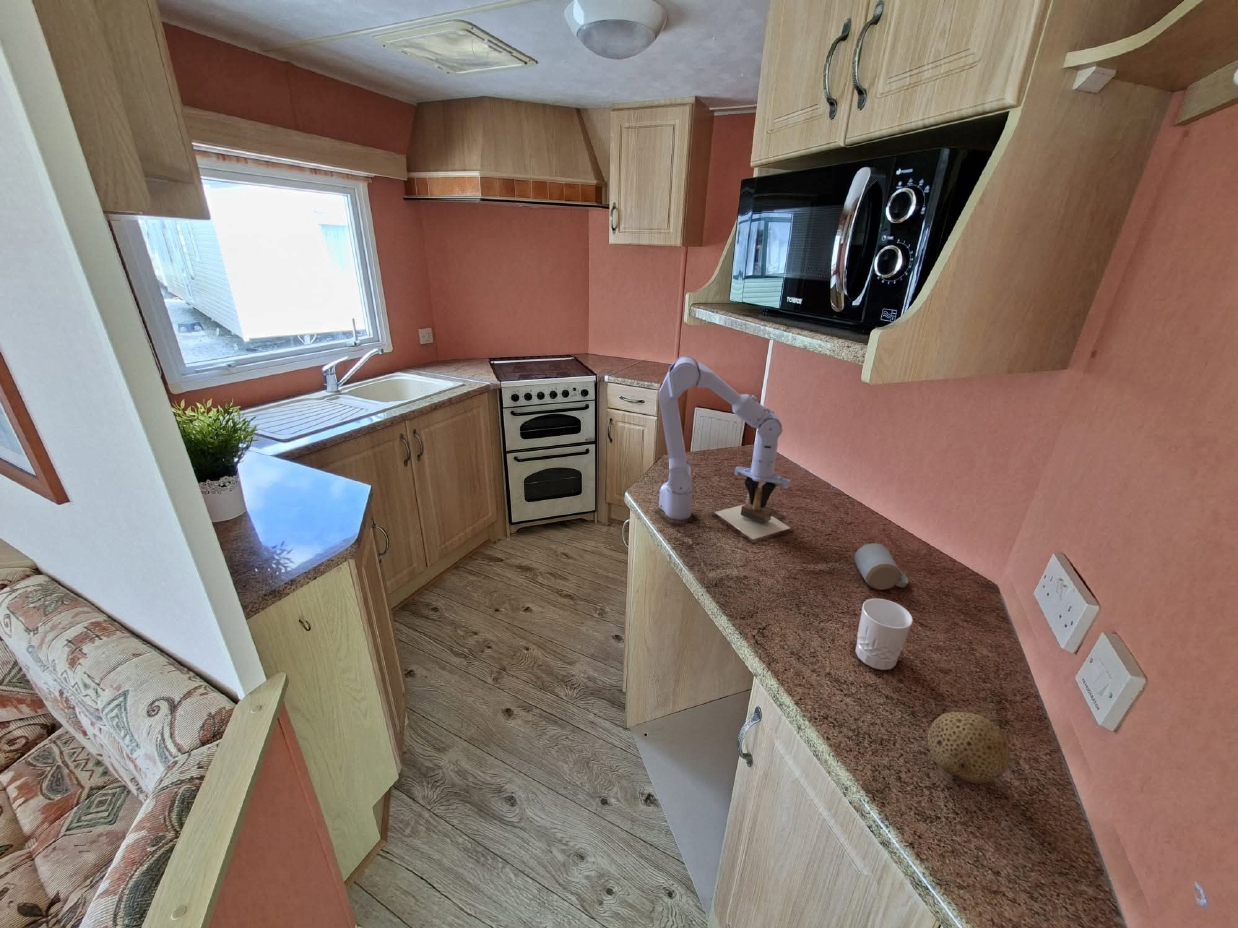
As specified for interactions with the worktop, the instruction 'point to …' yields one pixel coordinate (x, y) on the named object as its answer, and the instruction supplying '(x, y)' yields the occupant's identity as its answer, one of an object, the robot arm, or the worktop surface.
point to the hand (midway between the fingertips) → (758, 504)
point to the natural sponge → (968, 747)
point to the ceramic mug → (879, 567)
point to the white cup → (882, 633)
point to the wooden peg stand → (756, 509)
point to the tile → (751, 523)
